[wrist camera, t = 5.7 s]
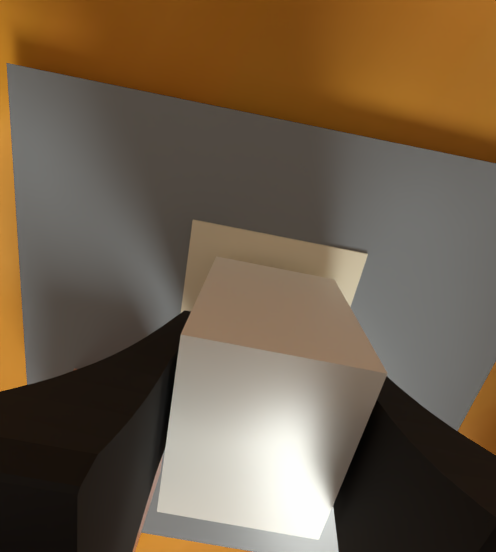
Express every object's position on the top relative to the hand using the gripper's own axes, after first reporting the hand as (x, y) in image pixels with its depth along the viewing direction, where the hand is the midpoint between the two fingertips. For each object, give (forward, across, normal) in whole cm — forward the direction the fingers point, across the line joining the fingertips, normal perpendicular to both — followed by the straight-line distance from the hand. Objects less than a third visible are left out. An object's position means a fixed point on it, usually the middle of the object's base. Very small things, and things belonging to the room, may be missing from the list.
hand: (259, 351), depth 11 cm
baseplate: (+2, 0, +3) cm, 4 cm away
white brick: (+1, 0, 0) cm, 1 cm away
